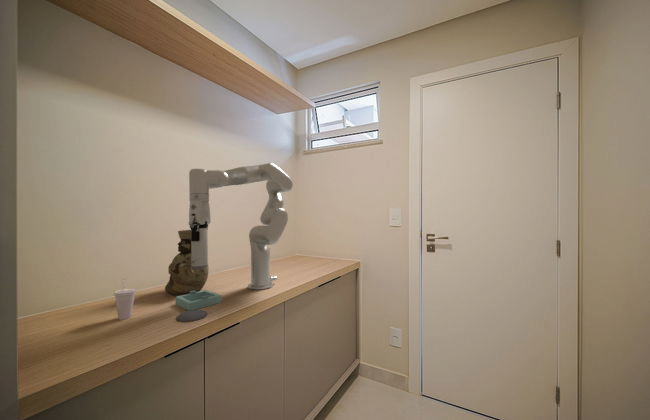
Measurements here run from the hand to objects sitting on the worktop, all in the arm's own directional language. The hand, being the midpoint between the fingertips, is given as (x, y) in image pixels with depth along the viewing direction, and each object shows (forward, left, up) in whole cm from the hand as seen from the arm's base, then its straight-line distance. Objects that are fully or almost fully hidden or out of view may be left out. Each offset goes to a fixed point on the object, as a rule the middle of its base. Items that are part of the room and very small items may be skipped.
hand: (199, 239), depth 110 cm
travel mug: (0, 0, -12) cm, 12 cm away
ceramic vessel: (-5, -23, -27) cm, 36 cm away
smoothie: (+24, -5, -27) cm, 37 cm away
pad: (+8, +13, -27) cm, 31 cm away
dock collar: (0, 0, -27) cm, 27 cm away
